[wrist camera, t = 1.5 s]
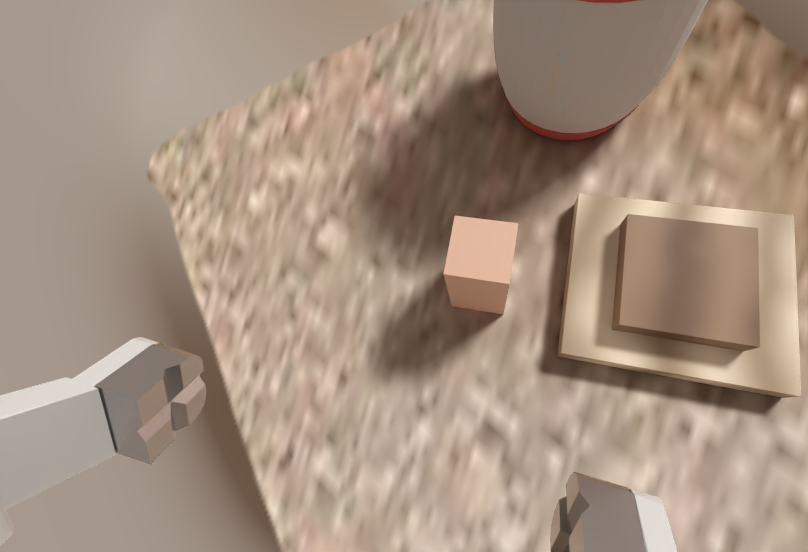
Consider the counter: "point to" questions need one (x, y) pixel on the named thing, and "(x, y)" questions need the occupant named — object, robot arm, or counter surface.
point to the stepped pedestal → (683, 293)
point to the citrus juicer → (585, 58)
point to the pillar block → (480, 263)
